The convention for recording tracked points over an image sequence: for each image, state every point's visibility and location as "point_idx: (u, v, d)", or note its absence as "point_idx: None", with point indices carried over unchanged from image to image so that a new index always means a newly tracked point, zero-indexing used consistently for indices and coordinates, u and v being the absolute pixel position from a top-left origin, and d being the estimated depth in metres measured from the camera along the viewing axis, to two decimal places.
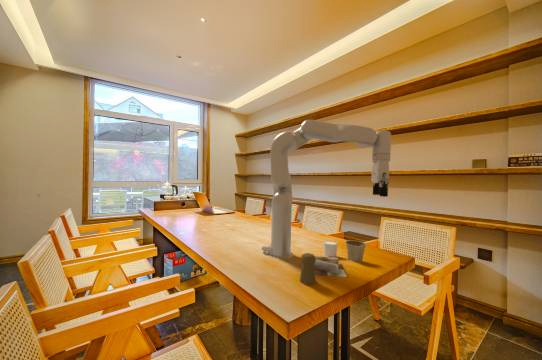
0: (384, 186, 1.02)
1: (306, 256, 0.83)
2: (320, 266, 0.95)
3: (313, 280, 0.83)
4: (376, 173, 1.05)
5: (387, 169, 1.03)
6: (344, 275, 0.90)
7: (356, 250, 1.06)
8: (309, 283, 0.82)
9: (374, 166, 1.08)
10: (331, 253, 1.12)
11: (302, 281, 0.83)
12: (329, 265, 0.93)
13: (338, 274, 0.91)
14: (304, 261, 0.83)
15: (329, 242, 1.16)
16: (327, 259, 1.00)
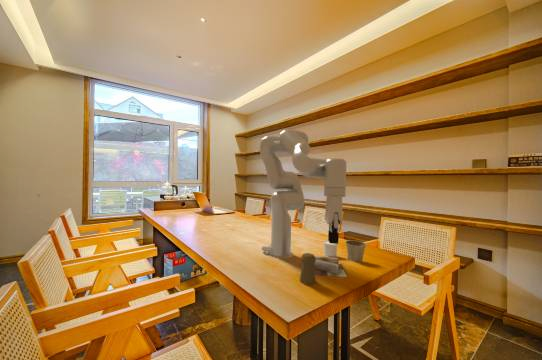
0: (333, 232, 0.84)
1: (306, 256, 0.83)
2: (320, 266, 0.95)
3: (313, 280, 0.83)
4: (327, 212, 0.84)
5: (340, 208, 0.81)
6: (344, 275, 0.90)
7: (356, 250, 1.06)
8: (309, 283, 0.82)
9: (326, 202, 0.87)
10: (331, 253, 1.12)
11: (302, 281, 0.83)
12: (329, 265, 0.93)
13: (338, 274, 0.91)
14: (304, 261, 0.83)
15: None
16: (327, 259, 1.00)
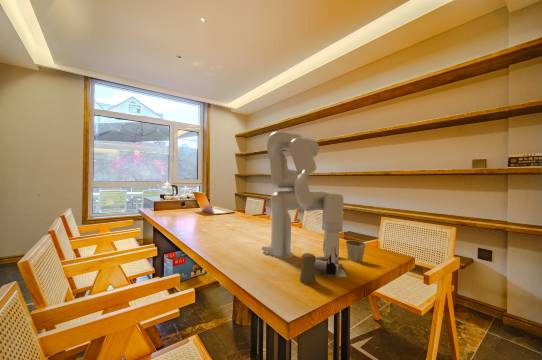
0: None
1: (306, 256, 0.83)
2: (320, 266, 0.95)
3: (313, 280, 0.83)
4: (325, 246, 0.87)
5: (337, 243, 0.85)
6: (344, 275, 0.90)
7: (356, 250, 1.06)
8: (309, 283, 0.82)
9: (324, 235, 0.90)
10: None
11: (302, 281, 0.83)
12: None
13: (338, 274, 0.91)
14: (304, 261, 0.83)
15: None
16: None
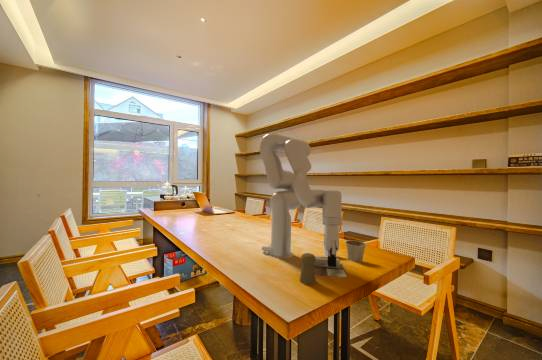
0: None
1: (306, 256, 0.83)
2: (323, 263, 0.98)
3: (313, 279, 0.83)
4: (325, 239, 0.93)
5: (337, 236, 0.91)
6: (344, 275, 0.90)
7: (356, 250, 1.06)
8: (309, 283, 0.82)
9: None
10: None
11: (302, 281, 0.83)
12: None
13: (338, 274, 0.91)
14: (304, 261, 0.83)
15: None
16: None
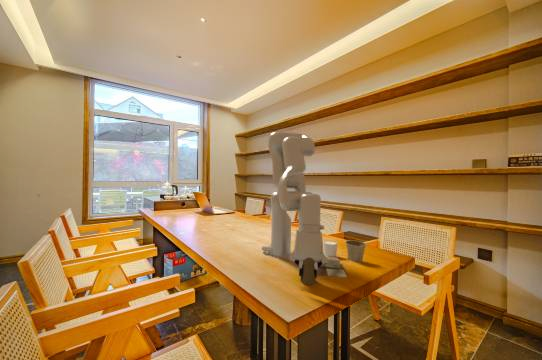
0: None
1: None
2: None
3: (314, 280, 0.83)
4: None
5: (295, 242, 0.84)
6: (344, 275, 0.90)
7: (356, 250, 1.06)
8: (310, 283, 0.82)
9: None
10: (331, 253, 1.12)
11: (303, 281, 0.83)
12: (332, 261, 0.97)
13: (338, 274, 0.91)
14: (305, 261, 0.83)
15: (329, 242, 1.16)
16: None
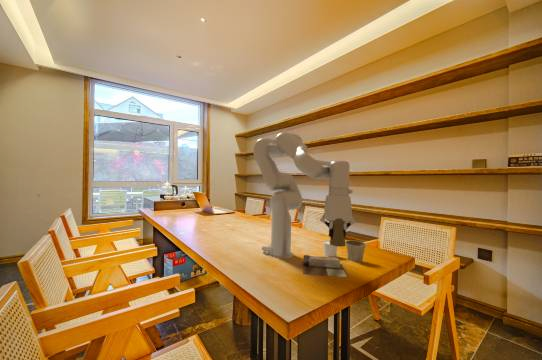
0: None
1: None
2: (323, 263, 0.98)
3: (343, 239, 0.90)
4: None
5: (326, 205, 0.92)
6: (344, 275, 0.90)
7: (356, 250, 1.06)
8: (340, 242, 0.90)
9: None
10: (331, 253, 1.12)
11: (333, 240, 0.91)
12: (332, 261, 0.97)
13: (338, 274, 0.91)
14: (335, 222, 0.91)
15: (329, 242, 1.16)
16: None
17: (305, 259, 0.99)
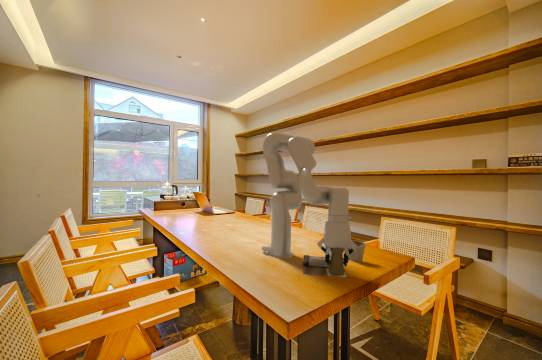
0: None
1: None
2: (323, 263, 0.98)
3: (342, 268, 0.91)
4: None
5: (325, 232, 0.92)
6: (344, 275, 0.90)
7: (356, 250, 1.06)
8: (338, 271, 0.90)
9: None
10: (331, 253, 1.12)
11: (332, 269, 0.91)
12: None
13: None
14: (333, 251, 0.91)
15: None
16: None
17: (305, 259, 0.99)
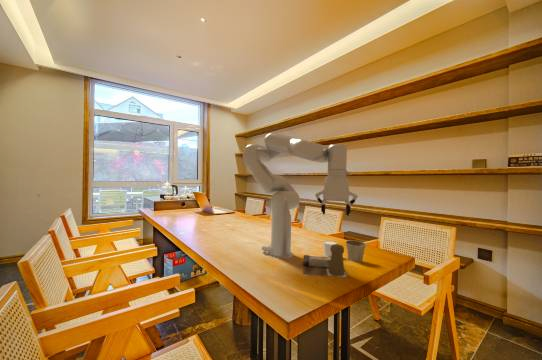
0: None
1: (335, 246, 0.91)
2: (323, 263, 0.98)
3: (342, 268, 0.91)
4: None
5: (325, 186, 0.98)
6: (344, 275, 0.90)
7: (356, 250, 1.06)
8: (338, 271, 0.90)
9: None
10: (331, 253, 1.12)
11: (332, 269, 0.91)
12: None
13: None
14: (334, 251, 0.91)
15: (329, 242, 1.16)
16: None
17: (305, 259, 0.99)
